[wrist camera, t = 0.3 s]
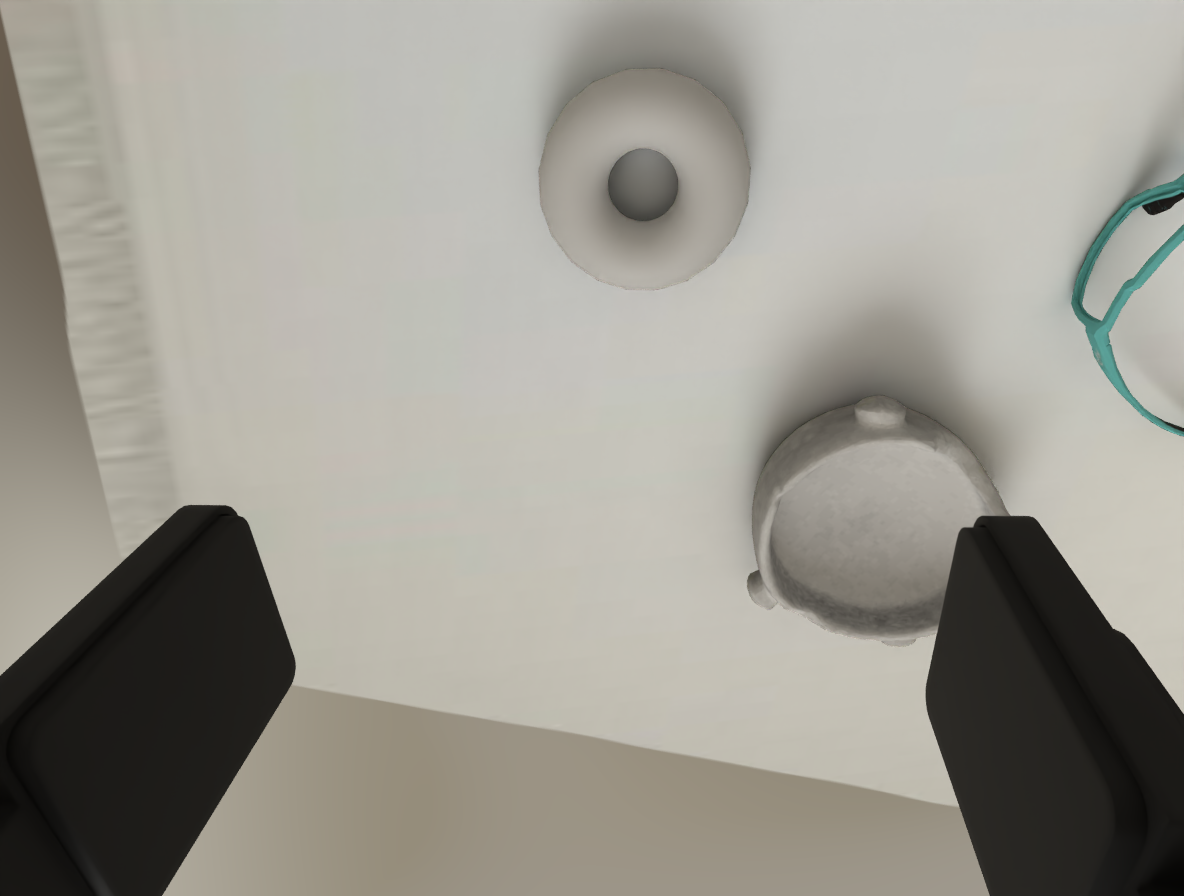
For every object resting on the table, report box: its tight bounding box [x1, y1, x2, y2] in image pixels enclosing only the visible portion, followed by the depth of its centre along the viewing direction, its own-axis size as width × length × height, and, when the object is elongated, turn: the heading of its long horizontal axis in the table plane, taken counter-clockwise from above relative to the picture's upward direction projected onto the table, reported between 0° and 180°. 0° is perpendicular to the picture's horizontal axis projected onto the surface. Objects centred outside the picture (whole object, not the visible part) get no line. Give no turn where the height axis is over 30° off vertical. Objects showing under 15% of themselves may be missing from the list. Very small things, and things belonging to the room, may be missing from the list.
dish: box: [747, 395, 1010, 647], centre depth 42 cm, size 14×14×5 cm
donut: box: [539, 68, 751, 290], centre depth 35 cm, size 10×4×10 cm
